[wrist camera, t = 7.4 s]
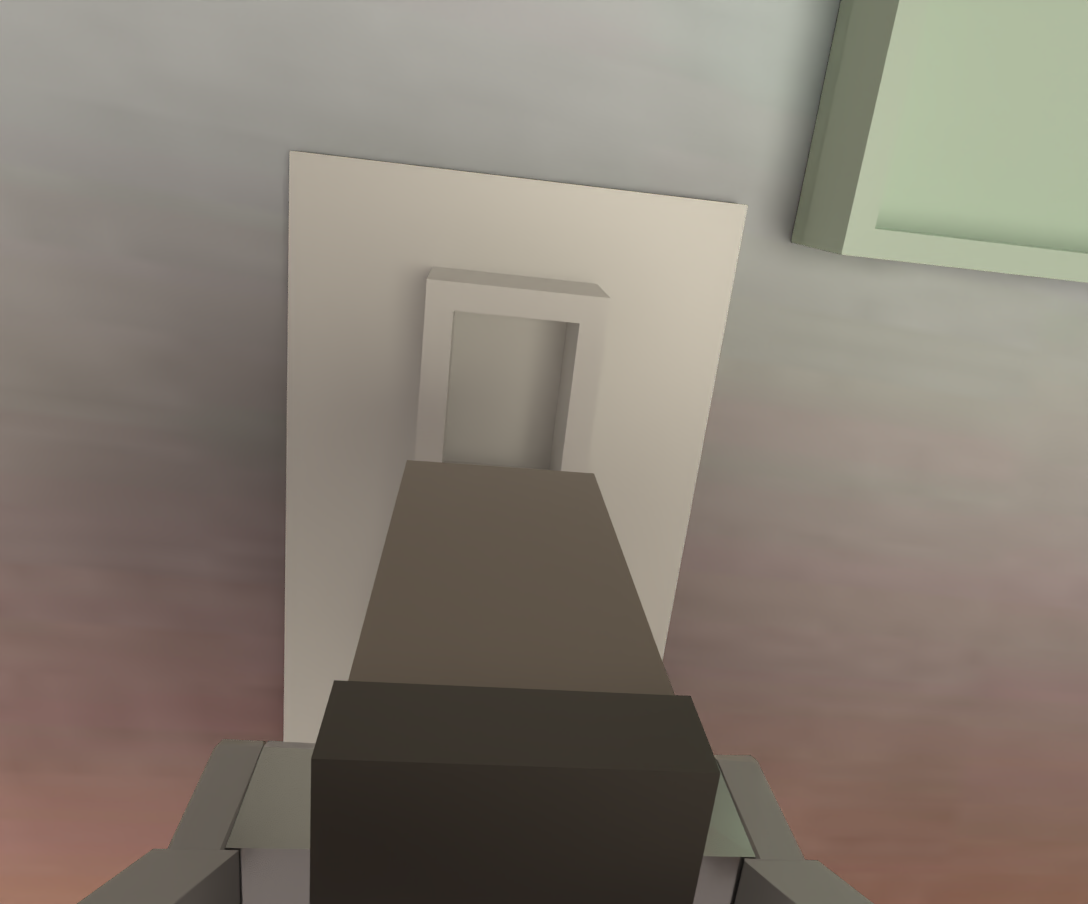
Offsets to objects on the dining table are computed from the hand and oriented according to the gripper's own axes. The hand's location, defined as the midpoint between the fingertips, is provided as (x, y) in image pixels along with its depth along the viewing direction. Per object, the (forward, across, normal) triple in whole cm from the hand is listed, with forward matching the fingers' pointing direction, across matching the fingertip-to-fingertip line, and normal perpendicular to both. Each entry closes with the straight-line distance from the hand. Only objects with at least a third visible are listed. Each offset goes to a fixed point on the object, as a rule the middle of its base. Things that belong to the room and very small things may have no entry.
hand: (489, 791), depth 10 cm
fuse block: (+19, -1, +4) cm, 20 cm away
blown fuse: (+4, 0, 0) cm, 4 cm away
